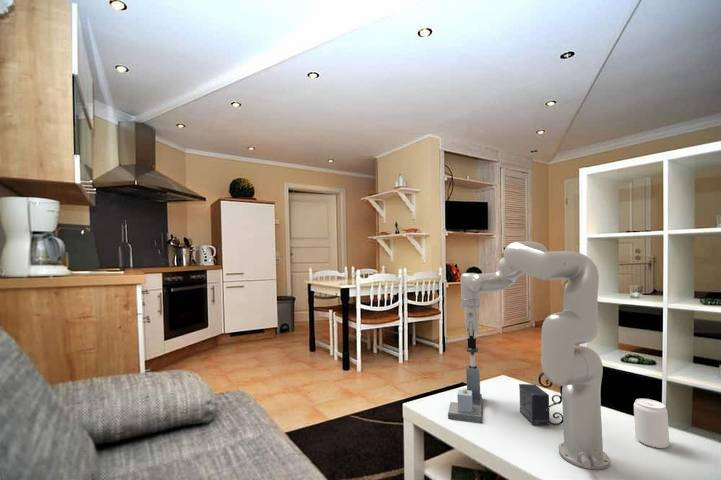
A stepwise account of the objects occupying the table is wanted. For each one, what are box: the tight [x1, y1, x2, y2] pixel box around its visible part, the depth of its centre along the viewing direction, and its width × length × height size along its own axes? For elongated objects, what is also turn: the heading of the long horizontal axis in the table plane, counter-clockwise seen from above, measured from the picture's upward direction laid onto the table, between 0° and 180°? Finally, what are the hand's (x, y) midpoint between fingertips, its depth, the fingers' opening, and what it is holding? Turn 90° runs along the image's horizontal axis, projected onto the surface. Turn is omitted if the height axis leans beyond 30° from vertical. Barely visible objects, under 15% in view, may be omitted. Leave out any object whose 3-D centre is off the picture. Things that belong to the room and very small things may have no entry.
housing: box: [456, 388, 473, 413], centre depth 130 cm, size 5×5×7 cm
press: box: [447, 364, 483, 424], centre depth 136 cm, size 22×12×13 cm, turn 161°
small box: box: [518, 383, 551, 426], centre depth 126 cm, size 11×6×10 cm, turn 179°
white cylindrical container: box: [633, 398, 670, 449], centre depth 109 cm, size 8×8×12 cm
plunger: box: [465, 346, 479, 368], centre depth 143 cm, size 5×5×13 cm
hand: (471, 347), depth 144 cm, fingers closed
